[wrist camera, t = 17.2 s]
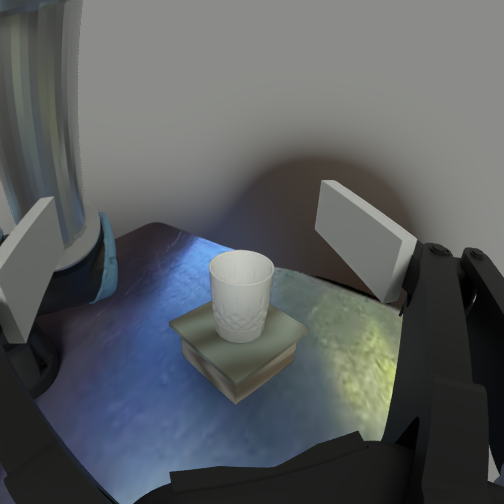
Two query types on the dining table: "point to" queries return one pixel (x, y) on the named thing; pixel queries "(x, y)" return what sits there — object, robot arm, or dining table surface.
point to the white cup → (240, 294)
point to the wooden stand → (238, 350)
